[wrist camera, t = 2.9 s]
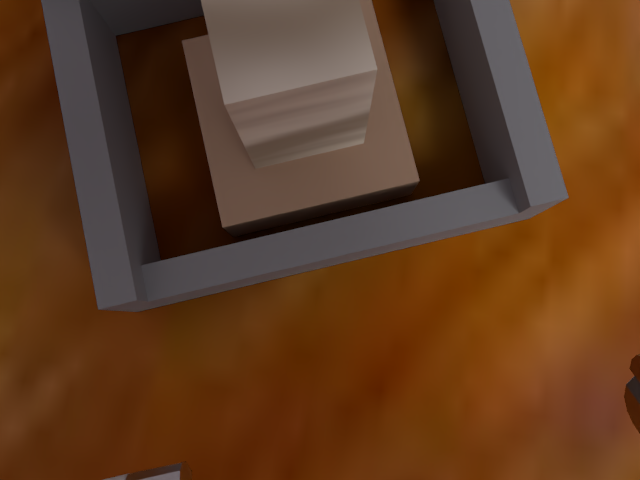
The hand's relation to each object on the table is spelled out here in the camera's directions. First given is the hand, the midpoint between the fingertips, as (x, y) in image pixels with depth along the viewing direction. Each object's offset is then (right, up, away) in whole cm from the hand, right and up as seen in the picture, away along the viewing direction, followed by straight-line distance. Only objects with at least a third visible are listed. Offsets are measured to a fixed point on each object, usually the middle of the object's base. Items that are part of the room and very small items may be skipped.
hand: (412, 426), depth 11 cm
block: (-3, +9, +17) cm, 19 cm away
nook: (-3, +9, +19) cm, 22 cm away
